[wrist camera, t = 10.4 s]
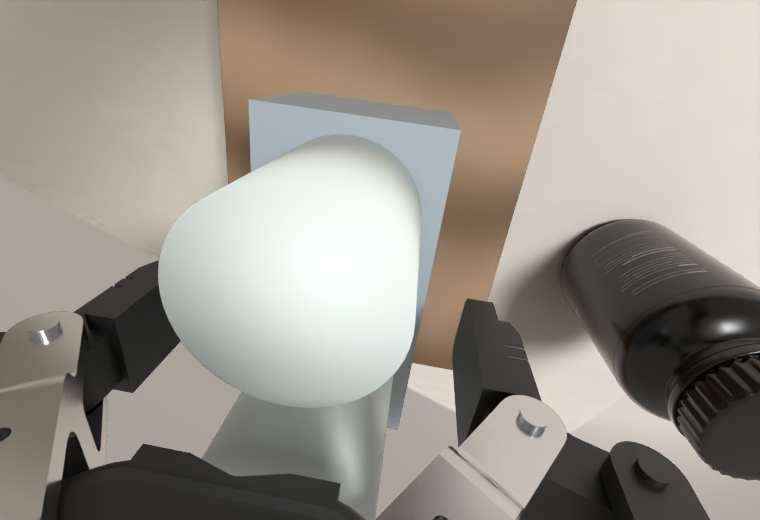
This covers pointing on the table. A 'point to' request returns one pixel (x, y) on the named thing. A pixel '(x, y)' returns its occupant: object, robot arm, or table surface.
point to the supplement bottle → (674, 335)
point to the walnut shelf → (414, 105)
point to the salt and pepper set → (314, 283)
